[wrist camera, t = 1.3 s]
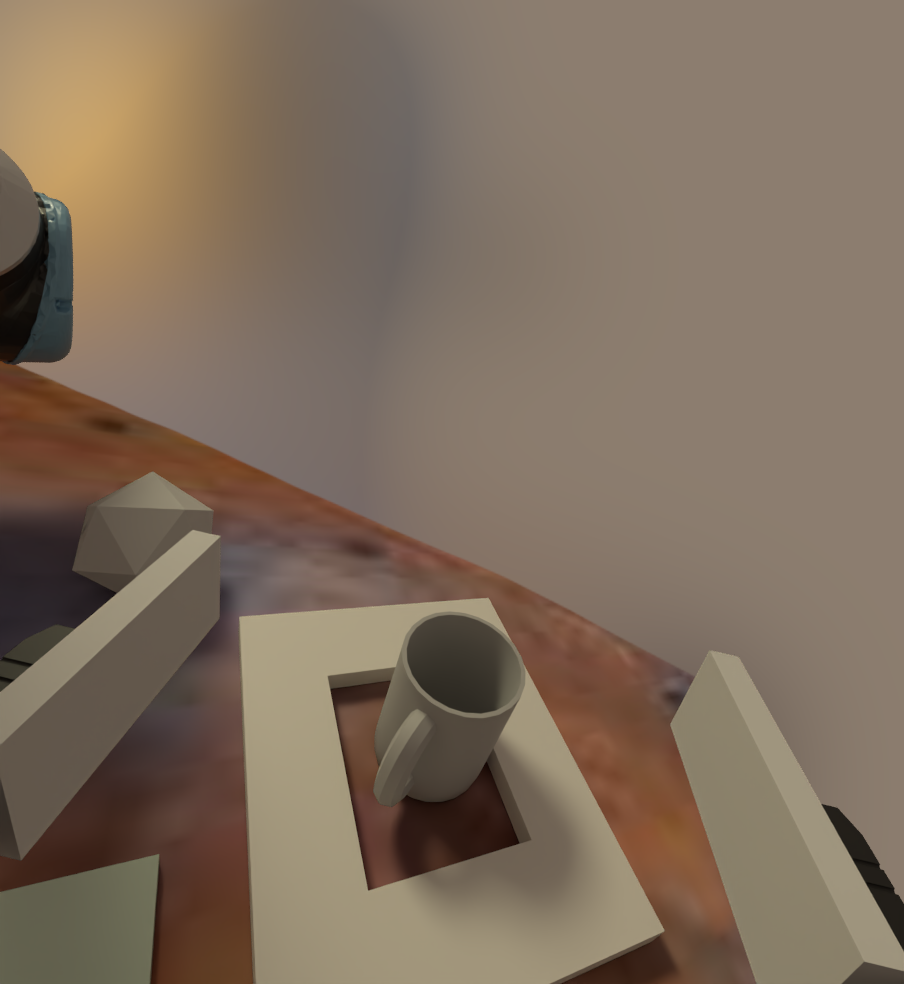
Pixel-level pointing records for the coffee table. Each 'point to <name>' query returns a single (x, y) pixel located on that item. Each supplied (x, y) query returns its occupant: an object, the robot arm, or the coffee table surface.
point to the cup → (445, 707)
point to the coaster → (82, 927)
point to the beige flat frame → (436, 894)
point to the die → (136, 530)
